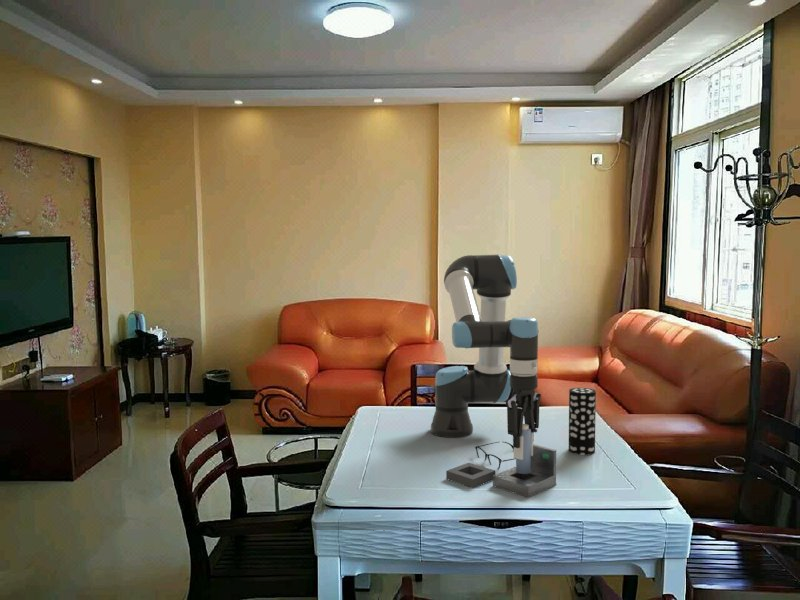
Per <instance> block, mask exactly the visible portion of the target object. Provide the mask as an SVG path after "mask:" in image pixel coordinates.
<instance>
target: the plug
mask: <svg viewBox="0 0 800 600" xmlns="http://www.w3.org/2000/svg"><path fill="white" fill-rule="evenodd" d="M517 432H518V431H517ZM521 436H523V460H520V459H515V467H516V472H517V473H520V474H529V473H530V472H531V429H529V425H528V424H525V423H523V425H522V433H521Z"/></svg>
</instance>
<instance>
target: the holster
mask: <svg viewBox="0 0 800 600" xmlns="http://www.w3.org/2000/svg"><path fill="white" fill-rule="evenodd" d="M445 474H446V477H445V479H446V480H448V479H449V480H448V481H451V480H452V481H451V482H453V481H455V482H454V483H456V482H458V483H457V484H459V483H461V484H460V485H462V484H464V485H463V486H465V485H466V487H468V486H469V487H468V488H471V487H472V488H471V489H474V488H477V487H479V486H481V484H482V485H484V484H487V483H489V482H491V480H492V481H493V475H496V470H495V469H492V468H489V467H485V466H481V465H479V464H476V463H471V462H467V463H464V464H461V465H458V466H455V467H453V468H450V469H447V470H446V471H445ZM488 481H489V482H488ZM486 482H487V483H486ZM483 483H484V484H483ZM478 485H479V486H478ZM476 486H477V487H476ZM473 487H474V488H473Z"/></svg>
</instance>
